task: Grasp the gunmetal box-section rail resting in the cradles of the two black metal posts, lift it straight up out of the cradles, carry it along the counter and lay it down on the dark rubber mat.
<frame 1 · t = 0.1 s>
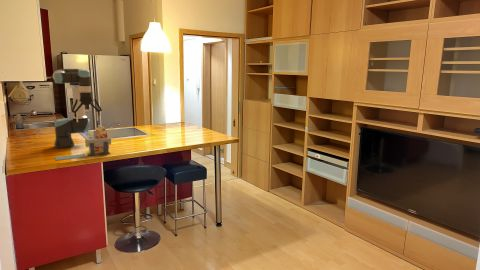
hand: (87, 121, 244), 28 cm above the worktop, fingers open, 13 cm apart
mat: (70, 157, 251), on the worktop
rail: (98, 145, 260), point 7 cm above the worktop, touching standards
standards: (99, 154, 261), on the worktop
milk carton: (102, 149, 277), on the worktop
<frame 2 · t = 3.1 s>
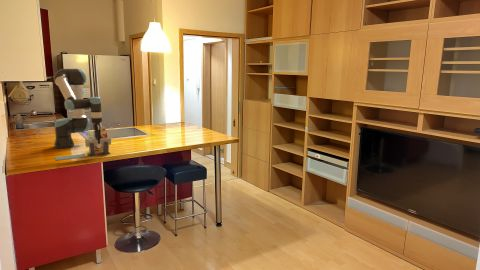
hand: (98, 147, 260), 6 cm above the worktop, fingers closed on rail, 3 cm apart
rail: (98, 145, 260), point 7 cm above the worktop, touching gripper, standards
everything else where it was.
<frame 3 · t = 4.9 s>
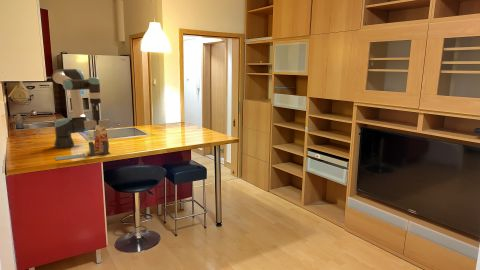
hand: (97, 128, 257), 20 cm above the worktop, fingers closed on rail, 3 cm apart
rail: (97, 126, 257), point 22 cm above the worktop, touching gripper
everything else where it was.
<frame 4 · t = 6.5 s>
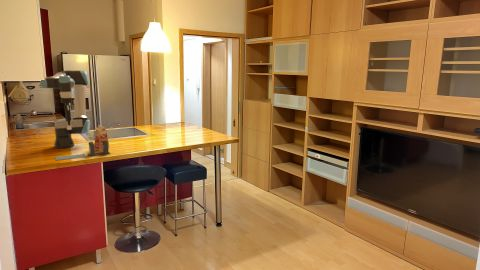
hand: (69, 129, 247), 22 cm above the worktop, fingers closed on rail, 3 cm apart
rail: (69, 127, 247), point 23 cm above the worktop, touching gripper
everything else where it was.
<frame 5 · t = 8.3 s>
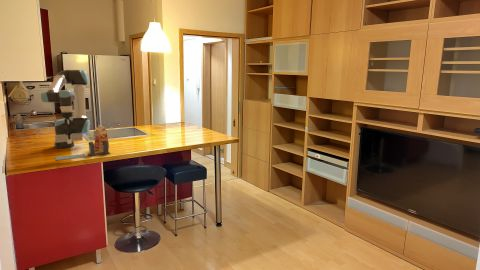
hand: (69, 142, 249), 11 cm above the worktop, fingers closed on rail, 3 cm apart
rail: (69, 141, 248), point 13 cm above the worktop, touching gripper
everything else where it was.
when the fingers open (1 cm above the worktop, at t = 10.0 s): rail drops 2 cm, resting on mat.
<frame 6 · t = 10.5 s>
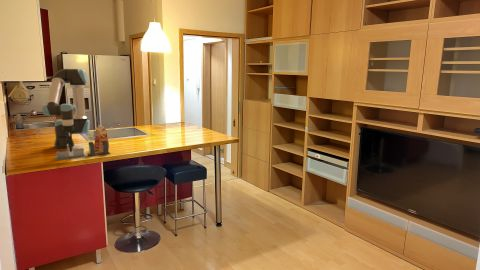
hand: (70, 153, 250), 3 cm above the worktop, fingers open, 11 cm apart
rail: (70, 156, 251), resting on mat
everything else where it was.
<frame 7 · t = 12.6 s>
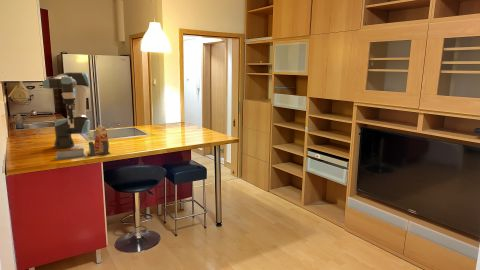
hand: (71, 126, 253), 23 cm above the worktop, fingers open, 13 cm apart
nothing on the worktop moved.
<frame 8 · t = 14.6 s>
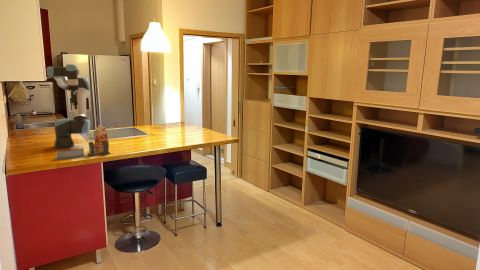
hand: (75, 112, 261), 32 cm above the worktop, fingers open, 13 cm apart
nothing on the worktop moved.
at the end: rail inside the target area on the mat (0.0 cm from its centre), point 0.3 cm above the mat's base; rail touching mat; the gripper is holding nothing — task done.
